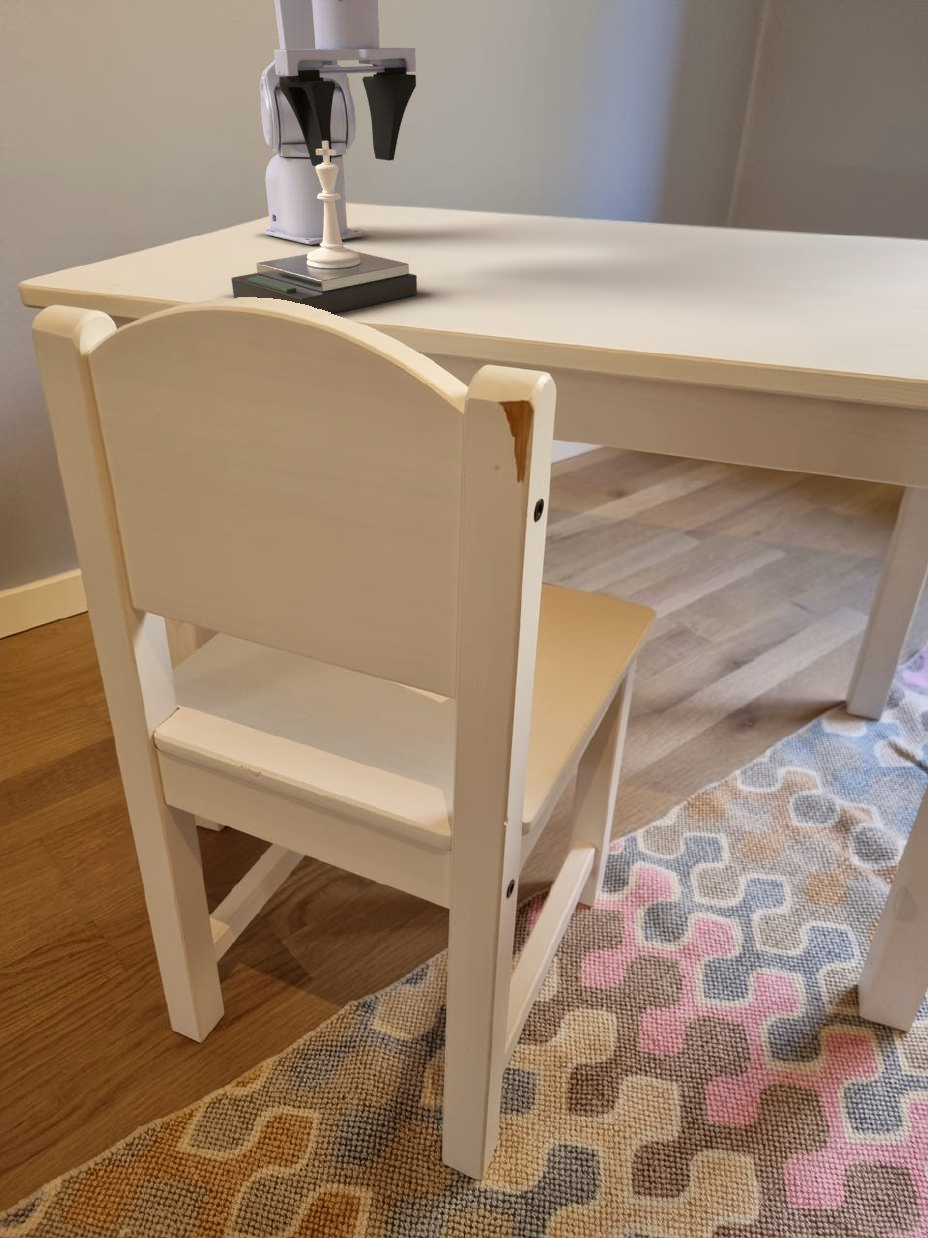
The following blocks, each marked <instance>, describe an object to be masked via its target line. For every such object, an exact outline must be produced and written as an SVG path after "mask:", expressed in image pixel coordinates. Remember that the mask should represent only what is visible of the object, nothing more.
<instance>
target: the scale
mask: <svg viewBox="0 0 928 1238" xmlns="http://www.w3.org/2000/svg"><path fill="white" fill-rule="evenodd" d="M230 279H231V287H232V293H233V298H235V299H237V298H236V297H257V298H273V299H281V300H287V301H292V302H295V303H300V304H305V305H309V306H312V307H314V308H317V309H322V310H325V311H328V312H331V313H333V314H337V313H342V312H346V311H351V310H355V309H361V308H364V307H368V306H373V305H377V304H383V303H386V302H391V301H396V300H400V299H404V298H408V297H414V296H417V295H418V277H417V274H414V273H410V272H409V275H405V276H400V277H395V278H390V279H385V280H381V281H376V282H371V283H366V284H361V285H356V286H351V287H347V288H342V289H337V290H332V291H327V292H320V291H316V290H313V289H309V288H306V287H302V286H299V285H295V284H292V283H288V282H284V281H281V280H277V279H274V278H270V277H267V276H263V275H260V274H258V273H257V272H254V273H250V274H244V275H239V276H232V277H231V278H230Z"/></svg>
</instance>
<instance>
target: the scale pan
mask: <svg viewBox="0 0 928 1238" xmlns="http://www.w3.org/2000/svg"><path fill="white" fill-rule="evenodd" d="M357 252H358V253H359V259H360V261H361V262H360V264H358V265H356V266H352V267H347V268H336V269H326V268H316V267H312V266H309V265H308V264H307V261H308V259H307V255H308V254H309V253H306V254H301V255H300V254H299V255H293V256H289V257H288V256H287V257H282V258H277V259H271V260H265V261H260V262H256V264H255V265H256V273H258V274H260V275H263V276H267V277H270V278H274V279H277V280H281V281H284V282H288V283H292V284H295V285H299V286H302V287H306V288H309V289H313V290H316V291H320V292H327V291H332V290H337V289H342V288H347V287H351V286H356V285H361V284H366V283H371V282H376V281H381V280H385V279H390V278H395V277H400V276H405V275H409V273H410V265H409V263H408V262H402V261H400V260H394V259H390V258H385V257H381V256H377V255H373V254H370V253H369V254H368V253H363V252H361V251H360V252H359V251H357Z"/></svg>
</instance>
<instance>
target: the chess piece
mask: <svg viewBox="0 0 928 1238" xmlns="http://www.w3.org/2000/svg"><path fill="white" fill-rule="evenodd" d="M316 155H323V163H322V164H319V165H317V166H316V167H315V169H316V172H317V175H318V177H319V180H320V183H321V186H322V188H323V191H322V192H323V193H319V194H318V196H317V198H318V199H320V200H324V230H323V242H322V243H319V246H320V248H317V249H314V250H312V251H310V252H309V253H307V254H308V255H307V259H308V261H307V264H308V265H309V266H312V267H316V268H326V269H336V268H347V267H352V266H356V265H358V264H360V262H361V261H360V259H359V253H358V252H359V251H356V250H354V249H351V248H347V247H345V245H346V243H345V242H344V241H342V240H343V239H342V240H341V236H340V231H339V225H338V220H337V214H336V207H335V200H337V199H340V198H341V196H340V194H339V193H335V190H334V187H335V184H336V178H337V174H338V169H339V167H338V166H337V165H335V164H332V163H331V162H330V157H329V155H336V149H329V142H328V141H322V149H316Z"/></svg>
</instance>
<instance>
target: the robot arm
mask: <svg viewBox="0 0 928 1238" xmlns="http://www.w3.org/2000/svg"><path fill="white" fill-rule="evenodd" d="M273 2H274V11H275V19H276V26H277V34H278V35H277V36H278V43H279V49H277V48H276V49H273V57H274V59H273V60H272V61H271V62H270V64H269V65H267V66H266V68H265V69H264V70H262V74H261V78H260V80H259V92H260V116H261V117H260V118H261V124H262V131H263V136H264V137H263V138H264V141H265V143H266V146H267V147H268V148H269V149H270V150H271V151H272V152H275V153H276V155H274V156H273V157H272V158H271V159H270V160H269V162H268V164H267V165H266V166H267V167H266V169H265V176H264V177H265V179H264V180H265V181H264V183H265V191H266V199H267V200H266V201H267V210H268V220H269V229H264V235H267V236H271V237H276V238H280V239H284V240H288V241H293V242H297V243H302V244H305V245H317V244H320V243H322V242H323V230H324V200H320V199H318V198H317V196H318V194H319V193H323V192H322V191H323V188H322V186H321V183H320V180H319V177H318V175H317V172H316V169H315V167H316V166H317V165H319V164H322V163H323V155H316V149H322V141H328V142H329V149H336V155H329V157H330V162H331V163H332V164H335V165H337V166H338V167H339V169H338V174H337V178H336V184H335V187H334V190H335V193H339V194H340V196H341V198H340V199H337V200H335V207H336V214H337V220H338V225H339V231H340V236H341V240H347V239H353V238H359V237H363V236H364V233H363V231H360V230H356V229H350V228H348V219H347V204H346V202H347V201H346V186H345V168H344V156H345V155H347V150H349V149H350V148H351V147H352V145H353V143H355V140H356V134H357V133H356V132H357V119H356V110H355V103H354V98H353V95H352V92H351V86H350V80H349V76H348V74H370V73H371V74H373V75H369V76H363V77H362V80H361V81H362V84H363V86H364V90H365V93H366V98H367V102H368V107H369V113H370V118H371V132H372V134H371V135H372V145H373V146H372V147H373V148H372V149H373V153H374V158H375V159H376V160H382V161H387V162H388V161H395V155H396V151H397V150H396V149H397V145H398V139H399V135H400V130H401V126H402V123H403V118H404V115H405V111H406V109H407V106H408V104H409V102H410V100H411V97H412V95H413V93H414V91H415V89H416V88H417V75H416V74H408V73H415V72H416V71H417V65H416V63H417V62H416V61H417V60H416V48H415V47H380V25H379V24H380V22H379V0H273ZM338 61H358V64H359V66H341V65H340V64H339V63H338ZM361 64H362V65H363V66H362V65H361ZM360 65H361V66H360Z"/></svg>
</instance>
